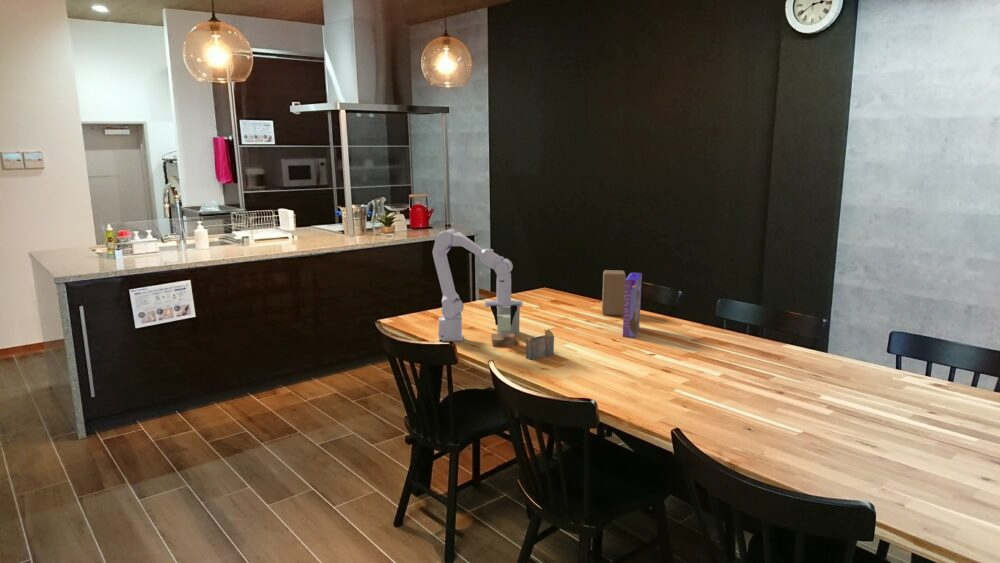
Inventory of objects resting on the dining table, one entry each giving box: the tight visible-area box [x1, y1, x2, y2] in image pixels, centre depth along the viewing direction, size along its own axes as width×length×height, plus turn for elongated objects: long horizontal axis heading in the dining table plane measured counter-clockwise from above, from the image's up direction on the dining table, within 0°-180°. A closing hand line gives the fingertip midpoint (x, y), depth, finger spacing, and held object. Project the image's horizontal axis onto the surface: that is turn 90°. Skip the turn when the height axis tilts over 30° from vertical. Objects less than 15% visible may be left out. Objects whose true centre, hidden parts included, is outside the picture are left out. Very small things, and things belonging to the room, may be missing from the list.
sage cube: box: [496, 315, 511, 331], centre depth 247 cm, size 5×5×5 cm
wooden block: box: [601, 269, 627, 317], centre depth 294 cm, size 10×10×20 cm
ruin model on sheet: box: [525, 329, 555, 361], centre depth 231 cm, size 11×3×10 cm, turn 128°
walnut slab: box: [491, 333, 517, 347], centre depth 248 cm, size 9×9×2 cm
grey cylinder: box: [496, 306, 521, 336], centre depth 261 cm, size 10×10×12 cm
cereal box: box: [622, 272, 643, 339], centre depth 263 cm, size 17×5×24 cm, turn 161°
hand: (503, 324), depth 247 cm, fingers closed on sage cube, 5 cm apart
